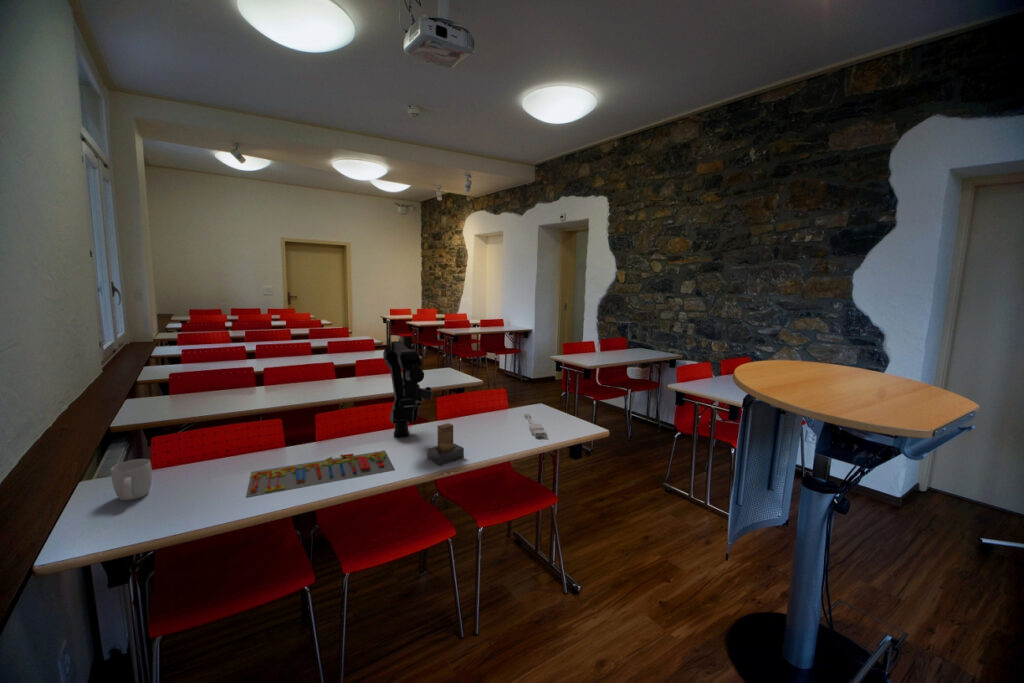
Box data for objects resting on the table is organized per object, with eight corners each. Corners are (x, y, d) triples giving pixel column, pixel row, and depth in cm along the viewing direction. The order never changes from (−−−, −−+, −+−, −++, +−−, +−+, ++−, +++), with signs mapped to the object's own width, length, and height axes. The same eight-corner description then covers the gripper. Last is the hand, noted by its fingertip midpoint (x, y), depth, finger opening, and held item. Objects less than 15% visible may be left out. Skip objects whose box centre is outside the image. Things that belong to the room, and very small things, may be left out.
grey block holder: (427, 458, 159) (427, 448, 158) (450, 451, 166) (450, 441, 166) (440, 466, 153) (440, 455, 152) (463, 458, 160) (463, 448, 160)
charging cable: (530, 417, 214) (530, 410, 213) (545, 438, 182) (545, 430, 182) (520, 417, 213) (521, 411, 212) (534, 438, 181) (534, 430, 181)
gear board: (384, 446, 166) (395, 465, 149) (385, 452, 166) (395, 471, 149) (251, 466, 146) (245, 491, 129) (251, 473, 146) (245, 499, 129)
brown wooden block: (437, 459, 159) (437, 425, 157) (448, 455, 162) (448, 423, 161) (442, 461, 157) (442, 428, 155) (453, 457, 160) (453, 425, 158)
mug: (118, 493, 130) (114, 462, 129) (155, 486, 135) (152, 456, 134) (107, 512, 120) (103, 478, 118) (148, 503, 125) (145, 471, 123)
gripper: (427, 382, 158) (430, 423, 157) (433, 379, 176) (436, 416, 176) (397, 384, 157) (400, 426, 156) (407, 381, 176) (409, 419, 175)
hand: (413, 422), depth 166 cm, fingers open, 9 cm apart
